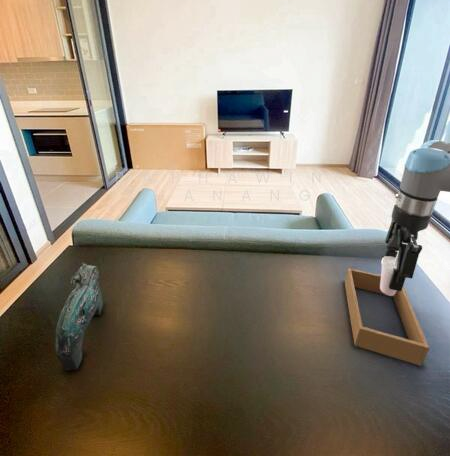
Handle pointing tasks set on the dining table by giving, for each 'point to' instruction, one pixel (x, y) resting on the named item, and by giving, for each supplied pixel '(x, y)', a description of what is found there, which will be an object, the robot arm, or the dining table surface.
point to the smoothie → (387, 274)
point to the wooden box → (380, 341)
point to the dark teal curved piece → (77, 316)
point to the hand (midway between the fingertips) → (390, 278)
